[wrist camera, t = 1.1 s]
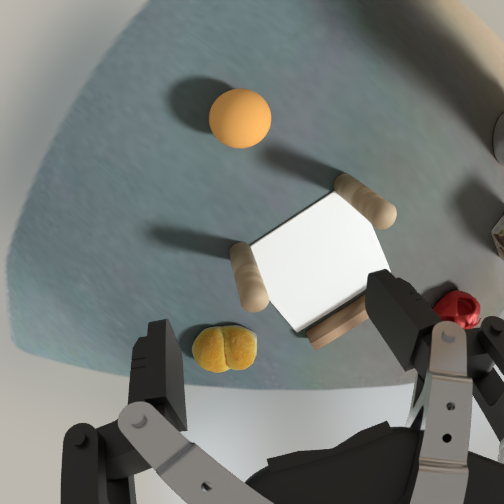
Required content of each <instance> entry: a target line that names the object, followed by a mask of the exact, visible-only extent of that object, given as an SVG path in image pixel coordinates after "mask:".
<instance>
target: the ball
mask: <svg viewBox="0 0 504 504" xmlns="http://www.w3.org/2000/svg"><path fill="white" fill-rule="evenodd" d="M209 124H210V128H211V130H212V133H213V134H214V136H215V137H216V138H217V139H218V140H219V141H220V142H222V143H223V144H225V145H227V146H229V147H233V148H247V147H251V146H253V145H255V144H257V143H258V142H260V141H261V140H262V139H263V138H264V137H265V135H266V134H267V132H268V130H269V128H270V124H271V112H270V109H269V106H268V104H267V103H266V101H265V100H264V99H263V98H262V97H261V96H260V95H259V94H257V93H255V92H253V91H251V90H247V89H233V90H230V91H227V92H225V93H223V94H222V95H221V96H219V97H218V98H217V99H216V100H215V102H214V103H213V105H212V107H211V109H210V113H209Z"/></svg>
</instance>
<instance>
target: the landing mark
mask: <svg viewBox="0 0 504 504" xmlns="http://www.w3.org/2000/svg"><path fill="white" fill-rule="evenodd" d="M250 247H251V249H252V252H253V255H254V257H255V260H256V263H257V266H258V268H259V271H260V274H261V277H262V279H263V282H264V285H265V288H266V290H267V293H268V296H269V300H270V301H271V303H272V304H273V305H274V306H275V307H276V309H277V310H278V311H279V312H280V313H281V314H282V316H283V317H284V318H285V319H286V320H287V321H288V323H289V324H290V325H291V326H292V327H293V329H294V330H295V331H296V332H299V331H301V330H302V329H304V328H306V327H307V326H309V325H310V324H312V323H314V322H315V321H317V320H319V319H320V318H322V317H323V316H325V315H327V314H328V313H330V312H331V311H333V310H335V309H336V308H338V307H339V306H341V305H342V304H344V303H346V302H347V301H349V300H350V299H352V298H353V297H355V296H356V295H358V294H359V293H361V292H362V291H364V290H365V289H366V286H367V277H368V274H369V273H371V272H375V271H379V270H383V269H387V270H388V271H389V272H391V271H390V268H389V266H388V263H387V261H386V258H385V256H384V253H383V251H382V248H381V246H380V244H379V241H378V239H377V236H376V234H375V232H374V229H373V227H372V225H371V223H370V222H369V221H368V220H367V219H366V218H365V217H364V216H363V215H361V214H360V213H359V212H358V211H357V210H356V209H355V208H354V207H352V206H351V205H350V204H349V203H348V202H347V201H345V200H344V199H343V198H342V197H341V196H340V195H338V194H337V193H336V191H333V192H332V193H330V194H329V195H327V196H325V197H324V198H322V199H321V200H319V201H318V202H316V203H315V204H313V205H312V206H310V207H309V208H307V209H306V210H304V211H302V212H301V213H299V214H298V215H296V216H295V217H293V218H292V219H290V220H289V221H287V222H286V223H284V224H283V225H281V226H280V227H278V228H277V229H275V230H274V231H272V232H270V233H269V234H267V235H266V236H264V237H263V238H261V239H260V240H258V241H257V242H255V243H254V244H252V245H251V246H250Z"/></svg>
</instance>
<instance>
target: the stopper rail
mask: <svg viewBox="0 0 504 504" xmlns="http://www.w3.org/2000/svg"><path fill="white" fill-rule="evenodd" d="M365 295H366V294H364V295H363V296H361V297H360V298H358V299H357V300H355V301H354V302H352V303H351V304H349V305H348V306H346V307H344V308H343V309H341V310H340V311H338V312H337V313H335V314H333V315H332V316H330V317H329V318H327V319H325V320H324V321H322V322H321V323H319V324H317V325H316V326H314V327H312V328H311V329H309V330H308V331H306V334H307V336H308V339H309V341H310V343H311V345H312V346H313V347H314V348H315V349H316V350H318V349H319V348H321V347H323V346H325V345H326V344H328V343H330V342H331V341H333V340H334V339H336V338H338V337H339V336H341V335H343V334H344V333H346V332H347V331H349V330H351V329H352V328H354V327H355V326H357V325H358V324H360V323H361V322H363V321H365V320H366V319H368V318H369V316H368V314H367V312H366V309H365Z"/></svg>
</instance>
